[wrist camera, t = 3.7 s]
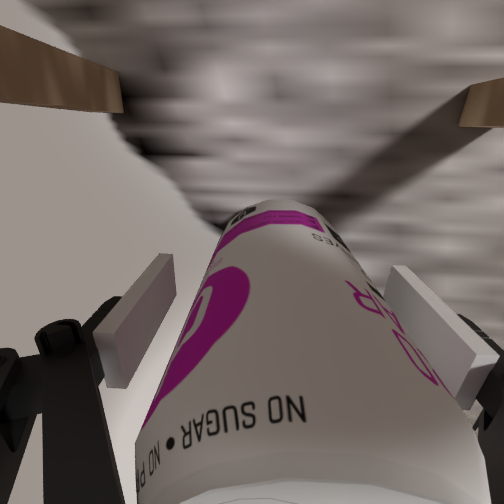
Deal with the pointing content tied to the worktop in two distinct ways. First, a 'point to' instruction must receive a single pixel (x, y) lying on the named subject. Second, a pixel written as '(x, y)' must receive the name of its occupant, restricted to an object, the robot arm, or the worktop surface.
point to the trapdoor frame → (109, 93)
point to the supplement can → (300, 385)
